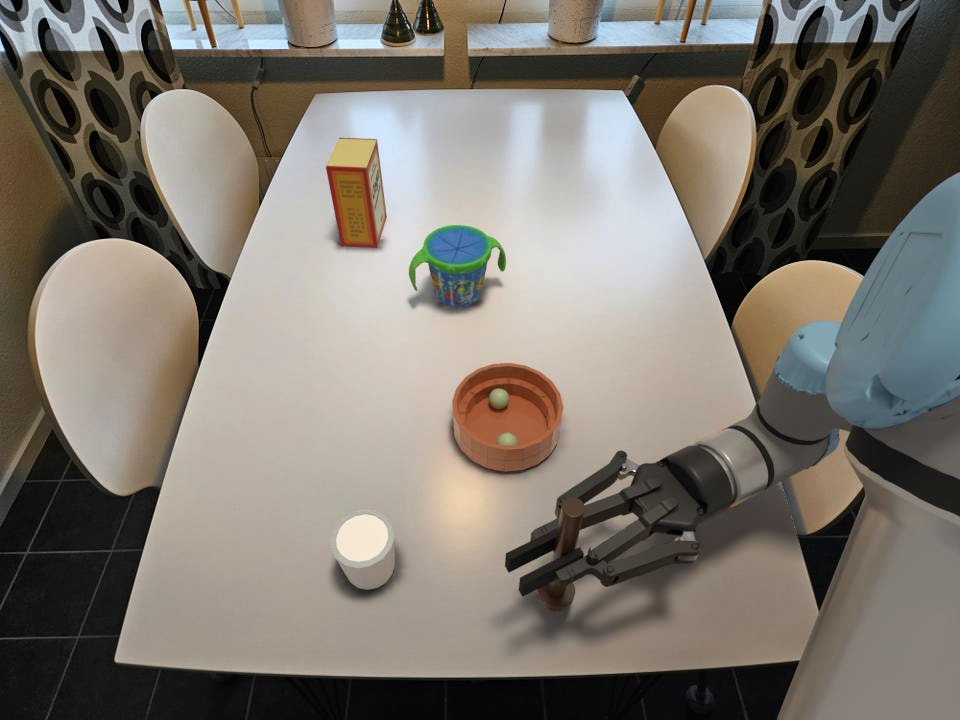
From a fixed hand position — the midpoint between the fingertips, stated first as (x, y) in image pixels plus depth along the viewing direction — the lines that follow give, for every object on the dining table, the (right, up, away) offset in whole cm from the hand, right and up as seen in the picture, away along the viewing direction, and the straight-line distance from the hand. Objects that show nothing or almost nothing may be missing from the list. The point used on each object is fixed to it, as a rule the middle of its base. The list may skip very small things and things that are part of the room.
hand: (514, 575), depth 60 cm
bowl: (0, +11, +27) cm, 29 cm away
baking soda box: (-24, +44, +58) cm, 76 cm away
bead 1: (-1, +15, +28) cm, 32 cm away
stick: (+5, -5, +9) cm, 11 cm away
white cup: (-16, -4, +14) cm, 21 cm away
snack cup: (-7, +31, +46) cm, 56 cm away
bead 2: (0, +9, +23) cm, 25 cm away
